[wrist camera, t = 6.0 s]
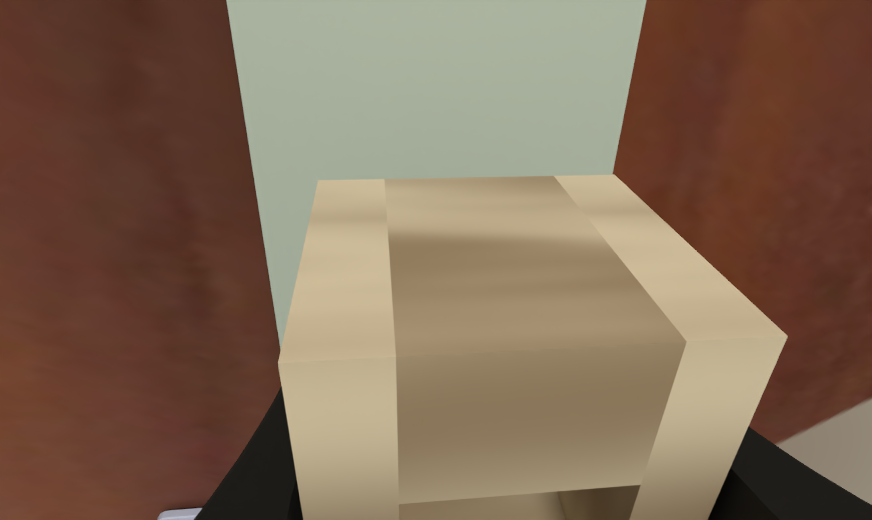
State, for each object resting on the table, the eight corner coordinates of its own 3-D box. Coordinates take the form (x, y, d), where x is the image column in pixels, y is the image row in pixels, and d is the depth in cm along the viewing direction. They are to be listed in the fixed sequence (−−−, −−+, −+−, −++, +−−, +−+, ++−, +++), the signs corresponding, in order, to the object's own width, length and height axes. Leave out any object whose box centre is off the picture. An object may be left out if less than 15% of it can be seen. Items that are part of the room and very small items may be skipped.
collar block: (558, 458, 14) (638, 676, 10) (345, 474, 14) (334, 712, 10) (614, 174, 10) (787, 336, 6) (318, 180, 10) (277, 363, 6)
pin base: (554, 408, 22) (590, 496, 18) (298, 425, 20) (284, 522, 17) (639, -57, 14) (731, -58, 10) (225, -68, 12) (172, -75, 9)
